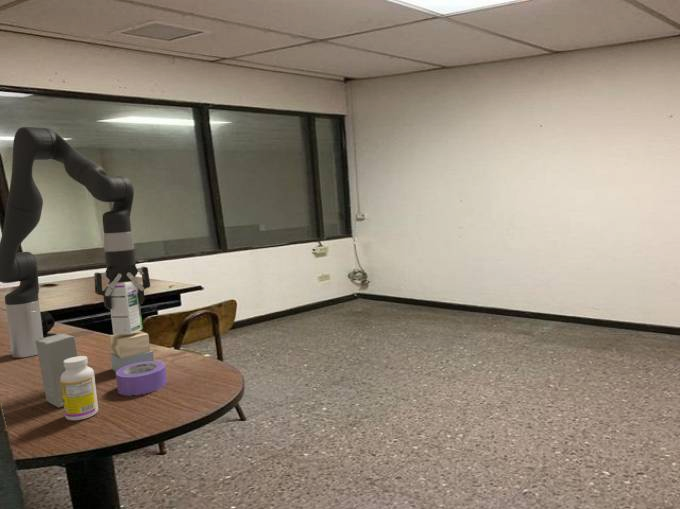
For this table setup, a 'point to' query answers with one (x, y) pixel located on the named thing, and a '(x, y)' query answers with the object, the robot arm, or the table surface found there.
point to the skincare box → (54, 363)
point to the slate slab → (130, 360)
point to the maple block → (129, 344)
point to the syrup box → (125, 308)
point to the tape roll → (141, 378)
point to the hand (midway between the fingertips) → (125, 306)
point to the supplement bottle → (78, 389)
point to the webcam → (47, 324)
